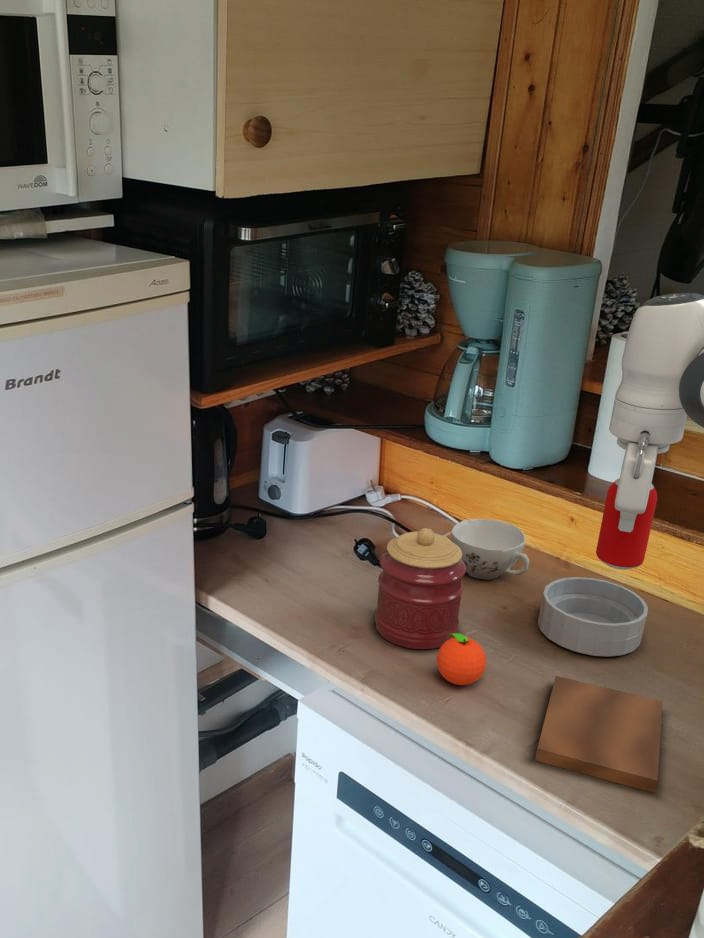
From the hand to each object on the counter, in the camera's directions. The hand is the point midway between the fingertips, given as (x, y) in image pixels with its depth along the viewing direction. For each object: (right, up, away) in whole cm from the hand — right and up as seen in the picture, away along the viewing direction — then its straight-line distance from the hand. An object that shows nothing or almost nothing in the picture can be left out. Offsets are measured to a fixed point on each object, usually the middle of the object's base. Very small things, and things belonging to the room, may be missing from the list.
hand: (627, 519), depth 123 cm
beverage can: (0, -6, +3) cm, 7 cm away
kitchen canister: (-24, -17, +21) cm, 37 cm away
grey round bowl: (+3, -17, +21) cm, 27 cm away
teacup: (-8, -9, +38) cm, 40 cm away
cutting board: (-5, -29, -3) cm, 29 cm away
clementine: (-21, -23, +9) cm, 33 cm away
